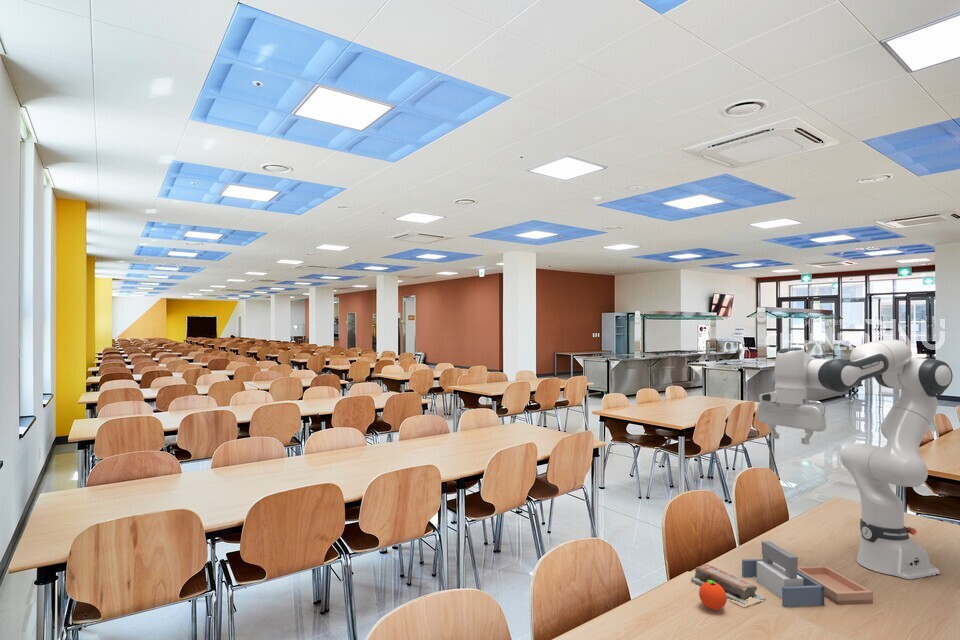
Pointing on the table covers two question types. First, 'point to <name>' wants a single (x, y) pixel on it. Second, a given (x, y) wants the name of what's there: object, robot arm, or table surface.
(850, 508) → the table surface
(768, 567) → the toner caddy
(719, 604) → the clementine
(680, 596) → the table surface
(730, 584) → the packaged product
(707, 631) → the table surface
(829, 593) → the terracotta tray
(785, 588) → the slate bay
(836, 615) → the table surface
